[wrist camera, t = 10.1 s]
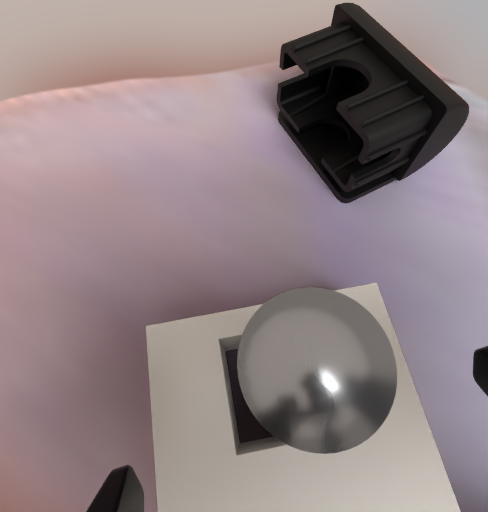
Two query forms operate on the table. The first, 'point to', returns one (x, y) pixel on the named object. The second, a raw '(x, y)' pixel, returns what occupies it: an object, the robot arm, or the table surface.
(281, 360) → the long pin
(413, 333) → the table surface
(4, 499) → the table surface
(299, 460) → the hole plate
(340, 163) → the end cap
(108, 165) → the table surface
